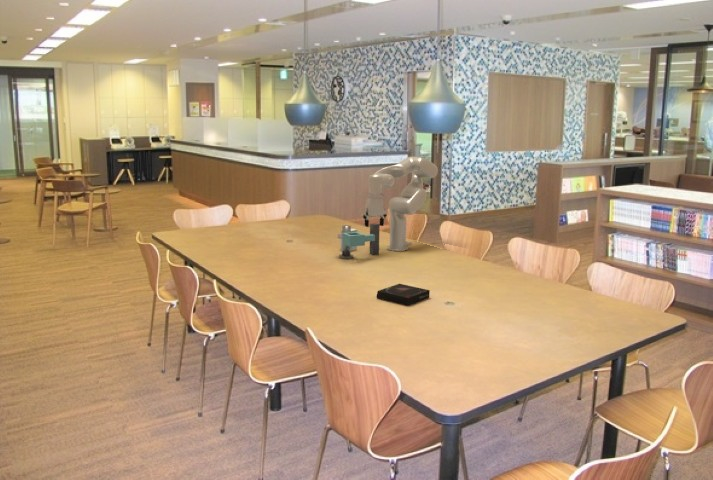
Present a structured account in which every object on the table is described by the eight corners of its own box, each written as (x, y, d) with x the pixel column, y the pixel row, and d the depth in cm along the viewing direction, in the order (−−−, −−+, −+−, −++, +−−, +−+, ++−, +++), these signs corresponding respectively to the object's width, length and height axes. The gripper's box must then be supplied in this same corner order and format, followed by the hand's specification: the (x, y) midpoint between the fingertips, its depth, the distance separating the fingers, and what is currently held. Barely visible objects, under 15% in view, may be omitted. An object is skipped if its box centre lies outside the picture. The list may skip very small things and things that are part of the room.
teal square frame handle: (369, 241, 355) (369, 230, 353) (377, 244, 347) (377, 233, 345) (342, 243, 347) (342, 233, 346) (349, 246, 339) (349, 236, 338)
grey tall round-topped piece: (350, 254, 361) (350, 223, 357) (358, 258, 352) (358, 226, 349) (334, 256, 356) (334, 225, 353) (342, 259, 348) (342, 228, 344)
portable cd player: (398, 291, 288) (398, 283, 288) (429, 298, 278) (429, 290, 277) (376, 299, 276) (376, 290, 275) (408, 307, 265) (408, 298, 265)
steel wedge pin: (375, 253, 365) (376, 223, 361) (378, 254, 361) (379, 224, 358) (369, 254, 363) (370, 223, 359) (372, 255, 359) (373, 224, 356)
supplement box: (349, 251, 368) (350, 230, 366) (340, 250, 372) (340, 229, 370) (357, 249, 374) (357, 229, 371) (347, 248, 378) (347, 227, 376)
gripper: (385, 195, 362) (383, 224, 366) (358, 196, 355) (357, 225, 358) (391, 196, 356) (390, 226, 359) (364, 197, 348) (364, 227, 351)
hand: (374, 226), depth 358 cm, fingers open, 9 cm apart
